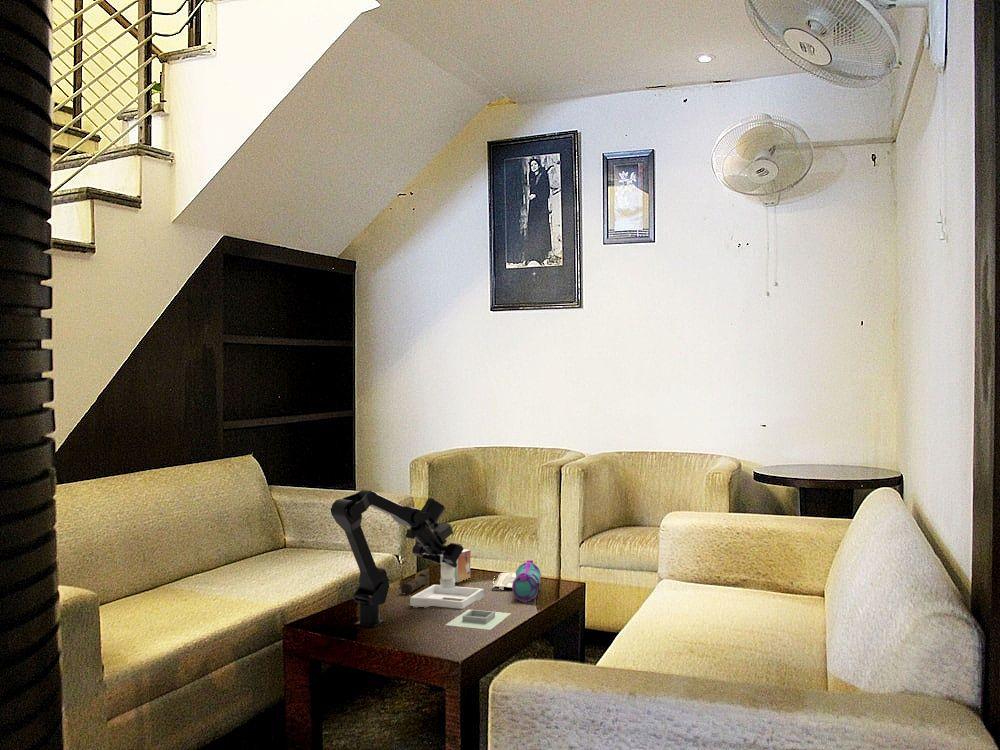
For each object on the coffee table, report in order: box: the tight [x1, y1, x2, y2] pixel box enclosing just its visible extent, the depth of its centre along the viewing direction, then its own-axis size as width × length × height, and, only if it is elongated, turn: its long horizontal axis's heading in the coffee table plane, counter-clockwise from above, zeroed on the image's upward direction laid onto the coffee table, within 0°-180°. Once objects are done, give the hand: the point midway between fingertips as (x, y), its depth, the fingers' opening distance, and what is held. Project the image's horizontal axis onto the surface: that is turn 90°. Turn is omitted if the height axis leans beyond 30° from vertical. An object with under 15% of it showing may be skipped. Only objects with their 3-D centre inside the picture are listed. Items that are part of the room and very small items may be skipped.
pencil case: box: [511, 559, 542, 603], centre depth 284 cm, size 21×9×10 cm, turn 176°
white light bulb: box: [439, 554, 456, 588], centre depth 275 cm, size 5×5×10 cm
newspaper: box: [491, 572, 516, 591], centre depth 300 cm, size 23×12×2 cm, turn 173°
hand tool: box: [400, 570, 430, 595], centre depth 294 cm, size 19×4×5 cm, turn 159°
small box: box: [454, 548, 471, 583], centre depth 306 cm, size 8×6×10 cm
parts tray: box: [409, 584, 485, 610], centre depth 275 cm, size 18×18×3 cm
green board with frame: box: [445, 609, 512, 631], centre depth 252 cm, size 18×14×2 cm
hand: (450, 565), depth 276 cm, fingers closed on white light bulb, 5 cm apart
